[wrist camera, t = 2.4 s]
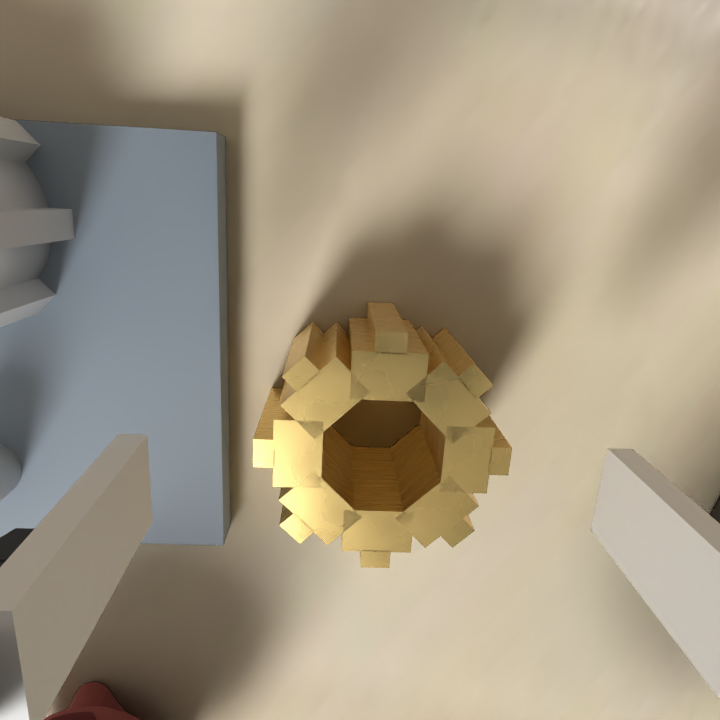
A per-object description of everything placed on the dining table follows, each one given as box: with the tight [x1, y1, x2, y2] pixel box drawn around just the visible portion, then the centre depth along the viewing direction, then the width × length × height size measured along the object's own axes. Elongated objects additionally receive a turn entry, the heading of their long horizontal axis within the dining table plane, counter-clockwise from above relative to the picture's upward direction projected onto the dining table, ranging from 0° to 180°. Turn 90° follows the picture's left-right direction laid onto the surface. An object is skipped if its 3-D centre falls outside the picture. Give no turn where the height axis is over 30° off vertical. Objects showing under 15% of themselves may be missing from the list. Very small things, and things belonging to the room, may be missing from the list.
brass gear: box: [253, 302, 512, 568], centre depth 20 cm, size 8×8×5 cm
